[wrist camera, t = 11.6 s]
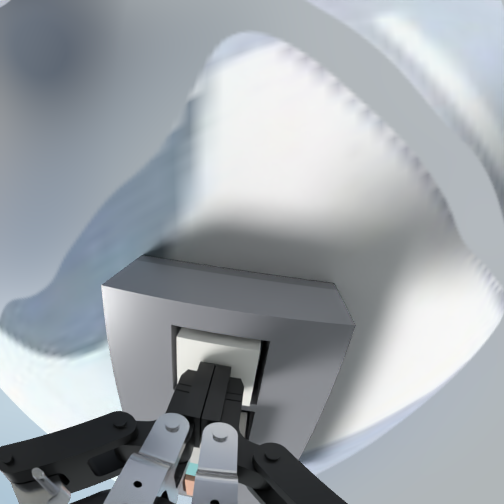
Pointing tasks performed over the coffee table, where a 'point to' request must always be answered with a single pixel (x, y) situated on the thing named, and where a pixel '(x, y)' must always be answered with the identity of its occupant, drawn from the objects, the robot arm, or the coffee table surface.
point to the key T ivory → (219, 355)
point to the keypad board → (234, 324)
